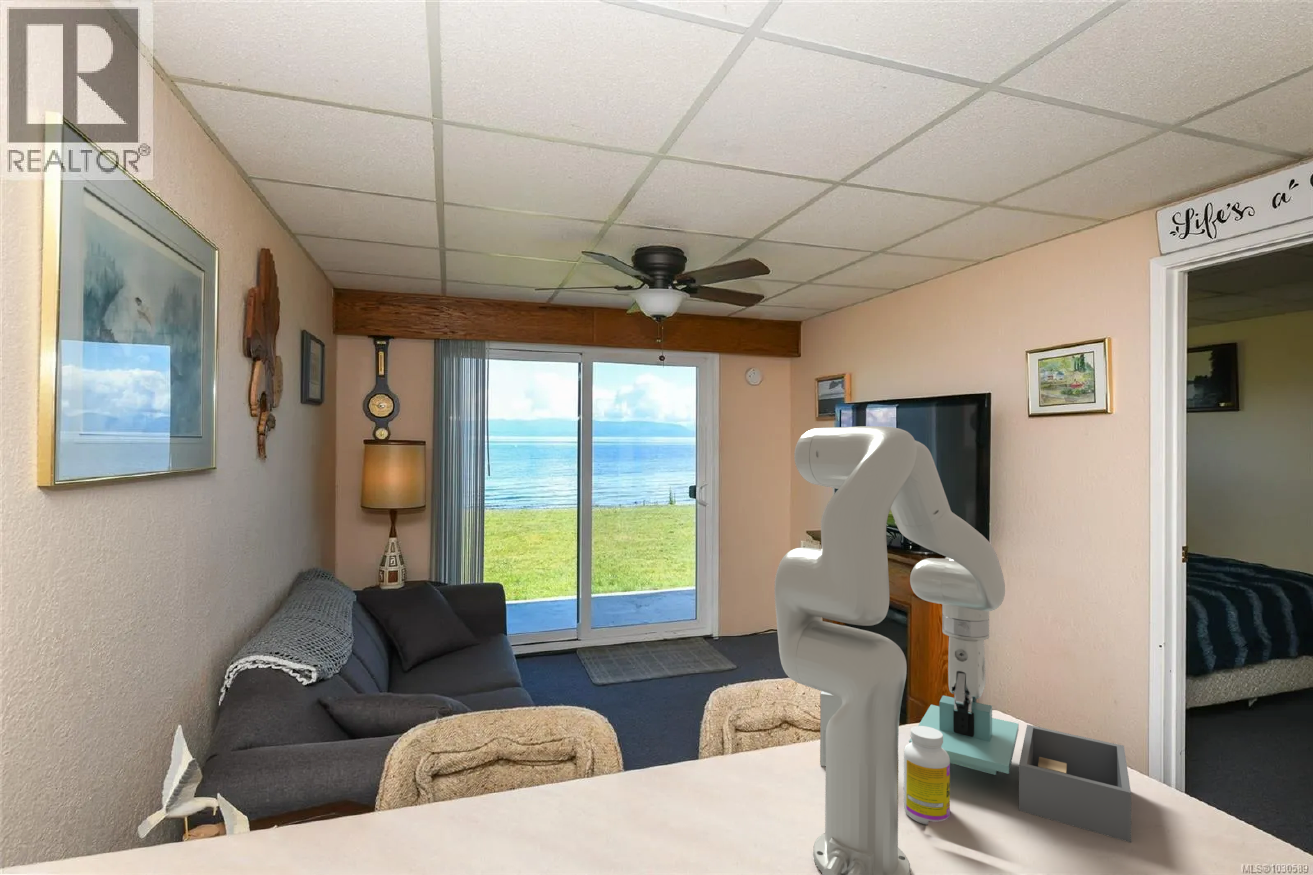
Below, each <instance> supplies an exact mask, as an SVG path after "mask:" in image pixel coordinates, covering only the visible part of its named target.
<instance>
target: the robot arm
mask: <svg viewBox="0 0 1313 875" xmlns="http://www.w3.org/2000/svg"><path fill="white" fill-rule="evenodd" d="M793 459H794V463H795V467H796V470H797V472H798V473H799V474H800V476H801V477H802V478H803V479H804V480H805V481H806V482H807V483H809V484H812V485H816V486H820V487H827V488H832V489H837V490H836V491H835V493H833V495H832V496H831V498H830V499H829V501H828V503H827V504H826V505H825V508H824V510H823V512H822V515H821V520H820V536H821V537H820V542H821V548H815V547H808V546H807V547H806V546H805V547H803V546H802V547H796V548H793V549H791V550H789V551H787V553H785V555H784V556H783V557H782V559H781V560H780V561H779V564H778V566H777V570H776V573H775V577H774V604H775V616H776V629H777V642H778V652H779V658H780V663H781V667H782V669H783V671H784V673H785V675H786V676H788V678H789V679H790V680H792V681H794V682H795V683H798V684H800V685H802V686H805V687H808V688H812V689H814V690H817V691H820V692H821V691H823V692H826V693H829V694H831V695H834V696H837V697H839V698H840V699H841V700H842V706H841V707H840V709H839V710H838V711H837V712H836V713H835V714H834V715H833V716H832V717H831V719H830V720H829V722H828V725H827V728H826V767H825V792H824V793H825V794H824V795H825V796H824V797H825V800H824V802H825V803H824V804H825V806H824V807H825V810H824V814H825V815H824V816H825V817H824V820H825V821H824V827H825V828H824V833H822V834H821V835H819V836H818V837H817V838H816V839H815V841H814V844H813V849H812V850H813V851H812V853H813V854H812V856H813V861H814V863H815V864H816V867H817V868H818V869H819V871H820V872H821V873H822V875H911V864H910V861H909V858H908V857H907V856H906V854H905V852H903V851H902V850H901V848H899V730H900V729H899V727H900V714H901V706H902V700H903V695H904V689H905V685H906V679H907V674H908V673H907V668H908V667H907V666H908V665H907V659H906V656H905V654H904V651H903V650H902V648H901V647H900V646H899V645H898V644H897V643H896V642H895V641H893V640H892V639H890V638H889V637H886V636H884V635H882V634H879V633H877V632H873V631H869V630H865V629H860V628H858V627H857V628H856V627H851V626H848V625H856V626H863V627H864V626H874V625H878V624H880V623H881V622H883V620H885V618H886V616H887V615H888V611H889V606H890V578H889V565H888V564H889V562H888V547H887V546H888V545H887V543H888V542H887V523H888V517H889V514H890V512H891V515H892V517H893V519H894V522H895V524H896V527H897V529H898V531H899V533H901V535H902V536H903V537H905V538H906V539H908V540H909V541H911V542H912V543H914V544H917V545H919V546H921V547H923V548H924V549H927V550H930V551H932V552H934V553H937V554H939V555H942V556H944V558H935V557H930V558H924V559H921V560H920V561H919V562H917V563H916V564H915V565H914V566H913V568H912V570H911V572H910V576H909V584H910V587H911V589H912V592H913V594H915V595H916V596H917V597H918V598H919V599H921V600H922V601H926V602H929V603H934V604H938V605H940V604H941V605H942V606H941V609H942V610H941V611H942V612H941V613H942V625H941V626H942V634H944V635H945V636H948V657H947V660H948V665H947V667H948V668H947V671H948V672H947V674H948V676H947V677H948V691H949V692H950V693H951V694H952V695H954V696H953V698H954V710H953V727H954V732H955V733H957V734H961V735H966V736H970V737H973V736H974V713H972V702H977V700H978V699H981V697H982V695H983V693H984V690H985V688H986V685H987V684H986V682H987V681H986V680H987V678H986V677H987V676H986V657H985V654H986V652H985V640H989V638H990V612H991V611H995V610H997V609H998V608H1000V606H1001V605H1002V604H1003V602H1004V599H1005V594H1006V584H1005V578H1004V573H1003V570H1002V566H1001V563H1000V561H999V557H998V555H997V552H996V550H995V548H994V546H993V545H992V543H990V541H989V540H988V539H987V538H986V537H985V536H984V535H983V534H982V533H980V532H979V531H978V530H977V529H975V527H974V526H972V525H971V524H969V523H968V522H967V521H965V520H964V518H963V519H962V518H961V517H960V516H958V515H957V514H955V512H952V510H951V507H950V504H949V501H948V498H947V495H946V492H945V490H944V487H943V483H942V481H941V478H940V475H939V472H938V469H937V466H936V463H935V460H934V458H933V455H932V453H931V451H930V450H929V448H928V447H927V446H926V445H925V444H924V443H922V442H920V441H918V440H915V438H914V436H913V435H912V434H911V433H910V432H909V431H907V430H904V429H902V428H897V427H894V426H881V425H867V426H865V425H864V426H863V425H862V426H843V427H842V426H840V427H839V426H838V427H836V426H835V427H832V426H831V427H817V428H816V427H815V428H811V429H810V430H807V431H806V432H804V433H803V434H802V435H801V436H800V437H799V438H798V440H797V442H796V445H795V448H794V458H793ZM823 619H826V620H831V621H835V622H840V623H843V624H844V623H845V624H847V625H843V624H837V623H833V622H828V621H823ZM966 700H967V701H968V702H967V701H966ZM977 703H978V702H977Z"/></svg>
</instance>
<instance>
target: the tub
mask: <svg viewBox="0 0 1313 875" xmlns="http://www.w3.org/2000/svg"><path fill="white" fill-rule="evenodd" d="M1021 748H1022V749H1021V753H1020V758H1019V759H1020V760H1019V762H1018V811H1019V812H1023V813H1025V814H1030V815H1033V816H1037V817H1040V818H1044V819H1046V820H1047V819H1048V820H1051V821H1055V822H1058V823H1062V824H1065V825H1069V826H1071V827H1072V826H1073V827H1076V828H1079V829H1082V830H1086V831H1090V832H1093V833H1097V834H1100V835H1104V836H1106V837H1111V838H1113V839H1117V840H1121V841H1124V842H1128V843H1132V792H1131V784H1130V777H1129V771H1128V764H1127V758H1126V751H1125V745H1122V744H1118V743H1114V742H1113V743H1112V742H1109V741H1104V740H1099V739H1095V738H1090V737H1085V736H1081V735H1076V734H1072V733H1067V732H1062V731H1058V730H1052V729H1049V728H1046V727H1045V728H1044V727H1040V726H1035V725H1031V724H1027V725H1026V729H1025V733H1024V739H1023V742H1022V747H1021ZM1039 757H1042V758H1047V759H1051V760H1055V761H1059V762H1063V763H1067V774H1065V773H1061V772H1057V771H1053V770H1049V769H1045V768H1041V767H1038V762H1039Z"/></svg>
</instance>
